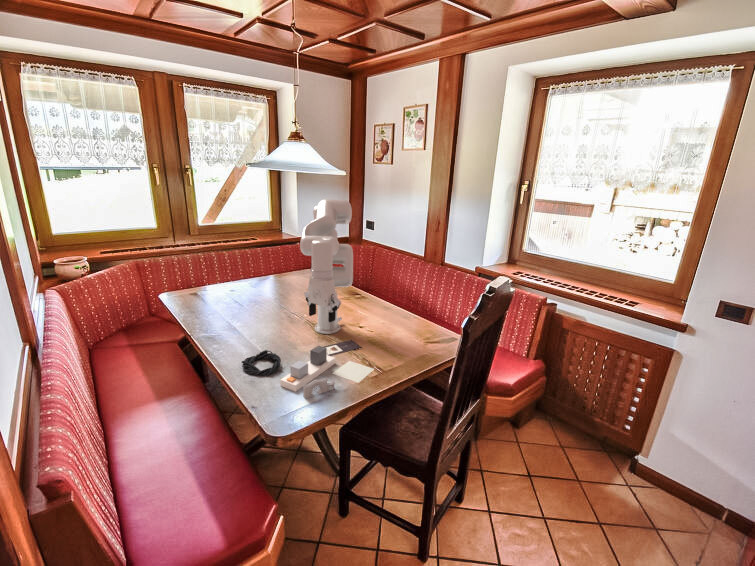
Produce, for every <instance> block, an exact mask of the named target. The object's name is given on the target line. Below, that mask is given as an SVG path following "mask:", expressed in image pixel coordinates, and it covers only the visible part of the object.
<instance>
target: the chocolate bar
mask: <svg viewBox="0 0 755 566" xmlns="http://www.w3.org/2000/svg"><path fill="white" fill-rule="evenodd" d="M323 347H324V348H327V355H328V356H331V357H333V356H336V355H340V354H343V353H347V352H350V351H357V350H356V349H358V350H360V349H359V348H362V349H363V346H361V345H360V344H358V343H357V342H355V340H353V339H349V340H345V341H341V342H336V343H332V344H330V345H329V344H328V345H324V346H323Z"/></svg>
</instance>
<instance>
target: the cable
mask: <svg viewBox="0 0 755 566" xmlns="http://www.w3.org/2000/svg"><path fill="white" fill-rule="evenodd" d="M262 359H268V360H269V361H270V362H271V363H273V365H272V367H268V368H265V369H262V370H261V369H260V368H258V367H257V366H256V365H255V364H254V362H255V361H257V360H262ZM281 362H282V359H281V357H280V356H279V355H277V353H273V352H272V351H271V350H268V349H265V350H262V351H260V352H259V353H256V354H254V355H252V356H250V357H246V358H244V360H241V364H242V368H243V370H244V372H245V373H246V374H247V375H248V374H250V375H252V376H257V377H260V376H261V377H268V376H269V375H271V374H275V373H276V372H277V371H278V369H279V368H280V367H281Z"/></svg>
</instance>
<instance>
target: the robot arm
mask: <svg viewBox="0 0 755 566" xmlns="http://www.w3.org/2000/svg"><path fill="white" fill-rule="evenodd" d="M352 210H353V209H352V205H351V203H350V202H349V201H348V200H346V199H333V198H328V199H327V198H325V199H322V200H320V201H319V202H318V204H317V205H316V206H314V207H313V211H312V213H313V214H312V215H313V219H314V220H312V221H310V222H309V223H308V224H306V225H305V226H304V228H303V229H302V232H301V236H300V243H299V249H300V252H301V253H302V254H303V255H304V256H309V257H310V256H311V268H310V270H309V271H310V272H311V276H310V277H309V280H308V288H307V289H308V290H307V291H304V293H303V294H304V297H305V301H306V303H307V306H308V316H309V317H312V316H314V315H317V323H316V324H315V325H314V331H315V332H316V333H318V334H323V335H332V334H336V333H338V332H340V331H341V326H340V324H339V322H340V321H342V319H343V317H342V316H338V309H340V307H341V304H342V301H341V299H339V298H338V293H337V291H336V288H348V287H351V286H352V284H353V281H354V251H353V247H352V245H350V244H349V243H340V242H339V241H338V237H339V236H338V235H339V234H338V232H337V230H336V228H337V225H349V224H350V223H351V221H352V219H353V218H352V217H353V216H352V214H353V213H352V212H353V211H352ZM333 264H334V265H335V264H336V265H342V266H333Z"/></svg>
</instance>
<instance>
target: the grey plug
mask: <svg viewBox="0 0 755 566" xmlns="http://www.w3.org/2000/svg"><path fill="white" fill-rule="evenodd" d="M290 373H291V376H292V377H293V378H296V379H299V380H300V379H302V378H303V377H305V376H306V375H307V373H308V363H307V361H302V360H298V361H296V362H295V363H293V364H292V365H290Z"/></svg>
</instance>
